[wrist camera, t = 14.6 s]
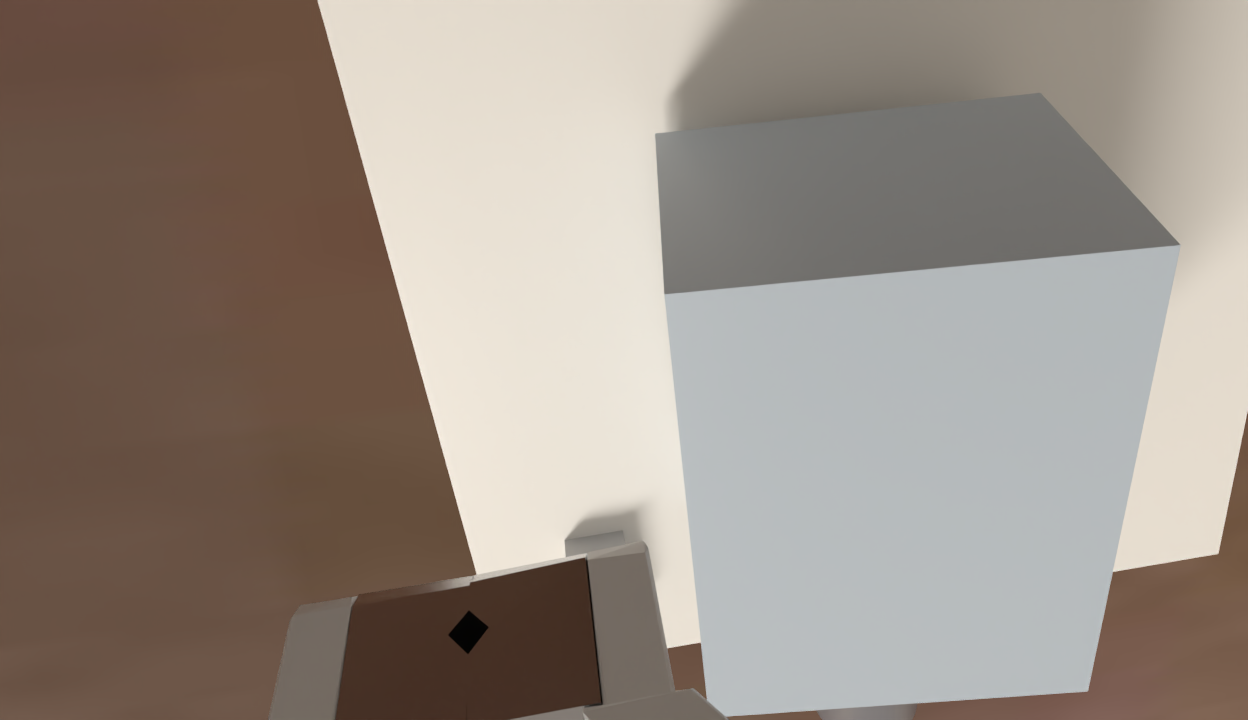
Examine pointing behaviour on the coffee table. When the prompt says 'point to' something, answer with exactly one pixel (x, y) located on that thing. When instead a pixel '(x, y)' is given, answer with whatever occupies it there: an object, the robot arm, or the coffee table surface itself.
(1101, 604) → the plug
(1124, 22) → the socket plate
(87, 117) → the coffee table surface
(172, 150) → the coffee table surface
